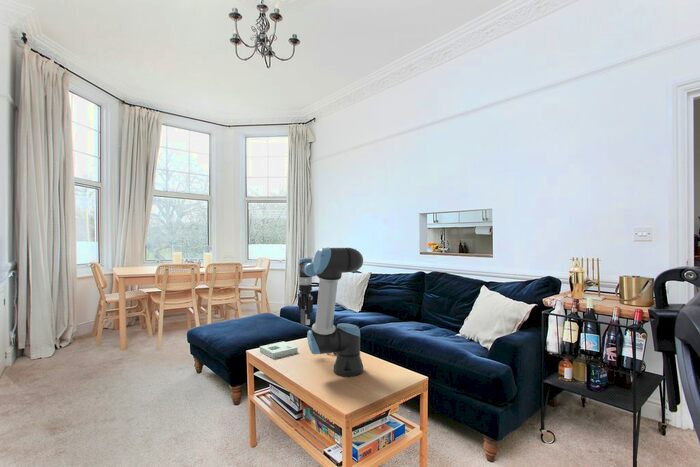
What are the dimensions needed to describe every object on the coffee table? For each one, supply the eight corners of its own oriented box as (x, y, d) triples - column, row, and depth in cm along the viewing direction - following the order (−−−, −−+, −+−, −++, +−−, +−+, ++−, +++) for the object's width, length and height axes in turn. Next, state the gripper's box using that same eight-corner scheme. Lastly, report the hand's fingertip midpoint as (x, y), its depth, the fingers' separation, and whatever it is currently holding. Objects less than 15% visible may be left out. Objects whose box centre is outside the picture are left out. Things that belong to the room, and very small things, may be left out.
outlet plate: (297, 352, 207) (297, 347, 207) (273, 358, 196) (273, 353, 197) (283, 346, 219) (283, 341, 219) (259, 351, 209) (259, 346, 209)
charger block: (310, 324, 207) (310, 309, 207) (304, 325, 205) (304, 309, 205) (306, 323, 210) (306, 307, 210) (300, 324, 208) (300, 308, 208)
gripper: (319, 285, 204) (319, 325, 204) (302, 282, 217) (302, 320, 217) (308, 286, 199) (308, 327, 199) (292, 283, 212) (292, 322, 212)
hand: (305, 323), depth 208 cm, fingers closed on charger block, 4 cm apart
